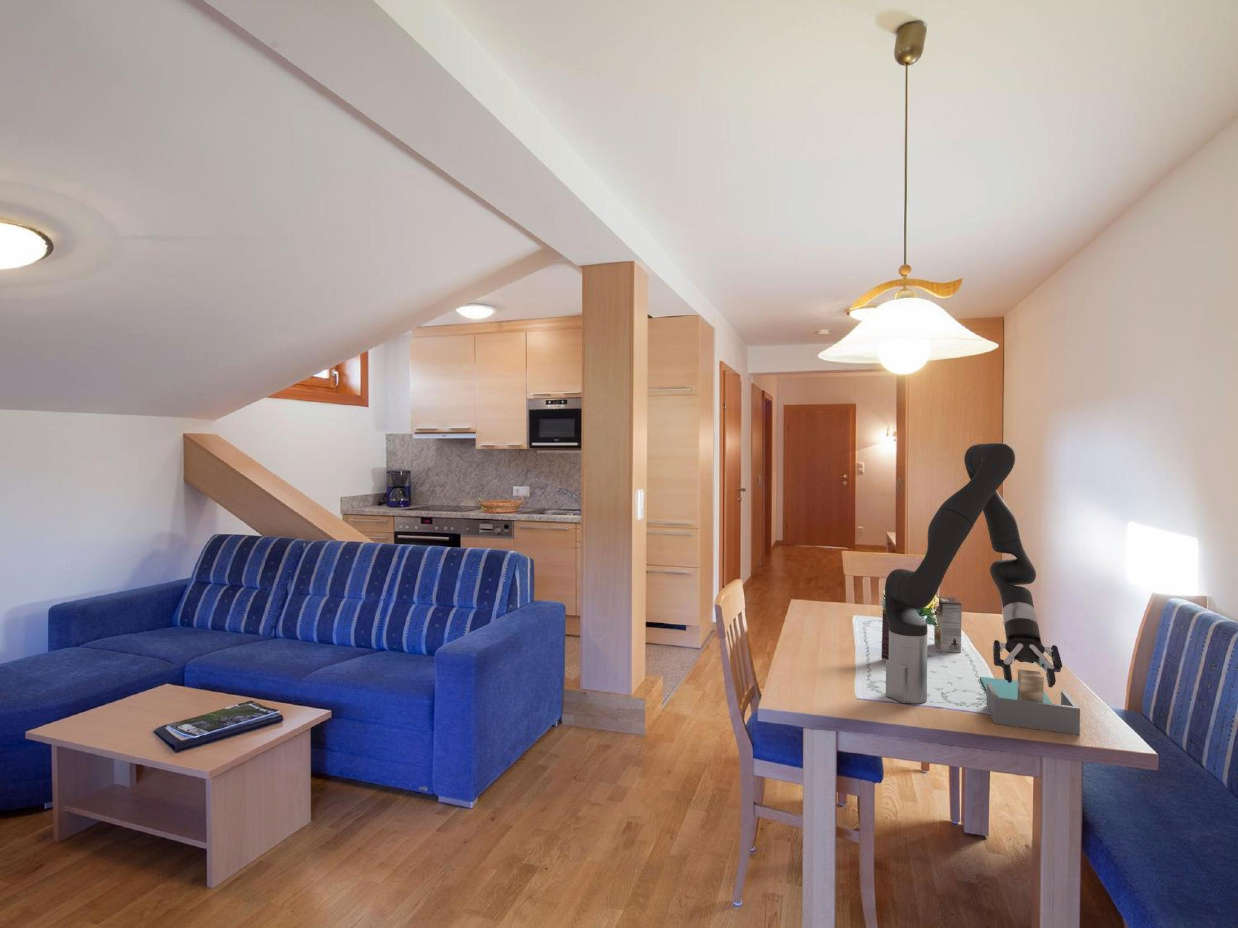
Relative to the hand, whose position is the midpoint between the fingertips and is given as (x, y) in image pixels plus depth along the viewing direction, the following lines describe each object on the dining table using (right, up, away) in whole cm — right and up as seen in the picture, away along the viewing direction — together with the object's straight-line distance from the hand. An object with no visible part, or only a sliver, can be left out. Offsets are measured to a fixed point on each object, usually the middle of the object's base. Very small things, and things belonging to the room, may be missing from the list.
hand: (1030, 683), depth 158 cm
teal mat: (+7, -8, +18) cm, 21 cm away
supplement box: (-13, -8, +44) cm, 47 cm away
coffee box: (+9, -8, +58) cm, 60 cm away
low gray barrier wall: (0, -8, 0) cm, 8 cm away
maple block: (0, -5, 0) cm, 5 cm away
